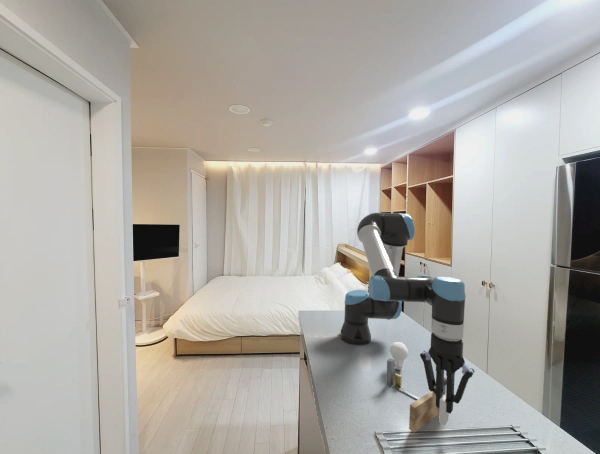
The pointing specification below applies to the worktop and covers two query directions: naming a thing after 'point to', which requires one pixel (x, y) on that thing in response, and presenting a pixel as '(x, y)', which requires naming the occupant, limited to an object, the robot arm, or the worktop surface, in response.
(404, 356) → the light bulb
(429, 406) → the gate
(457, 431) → the worktop surface
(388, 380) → the gate frame
